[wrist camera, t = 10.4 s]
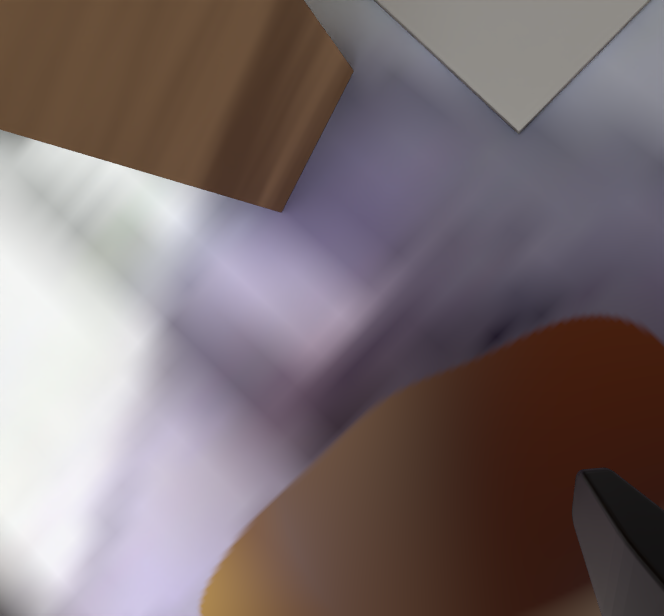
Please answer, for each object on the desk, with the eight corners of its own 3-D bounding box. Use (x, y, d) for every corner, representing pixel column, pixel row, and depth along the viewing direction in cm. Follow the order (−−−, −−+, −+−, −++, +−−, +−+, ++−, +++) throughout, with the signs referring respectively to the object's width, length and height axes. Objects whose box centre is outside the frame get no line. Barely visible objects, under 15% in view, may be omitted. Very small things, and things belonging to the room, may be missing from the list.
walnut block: (353, 70, 19) (109, -276, 7) (281, 212, 20) (-46, 116, 8) (225, 7, 20) (-177, -388, 8) (162, 145, 21) (-287, -31, 9)
